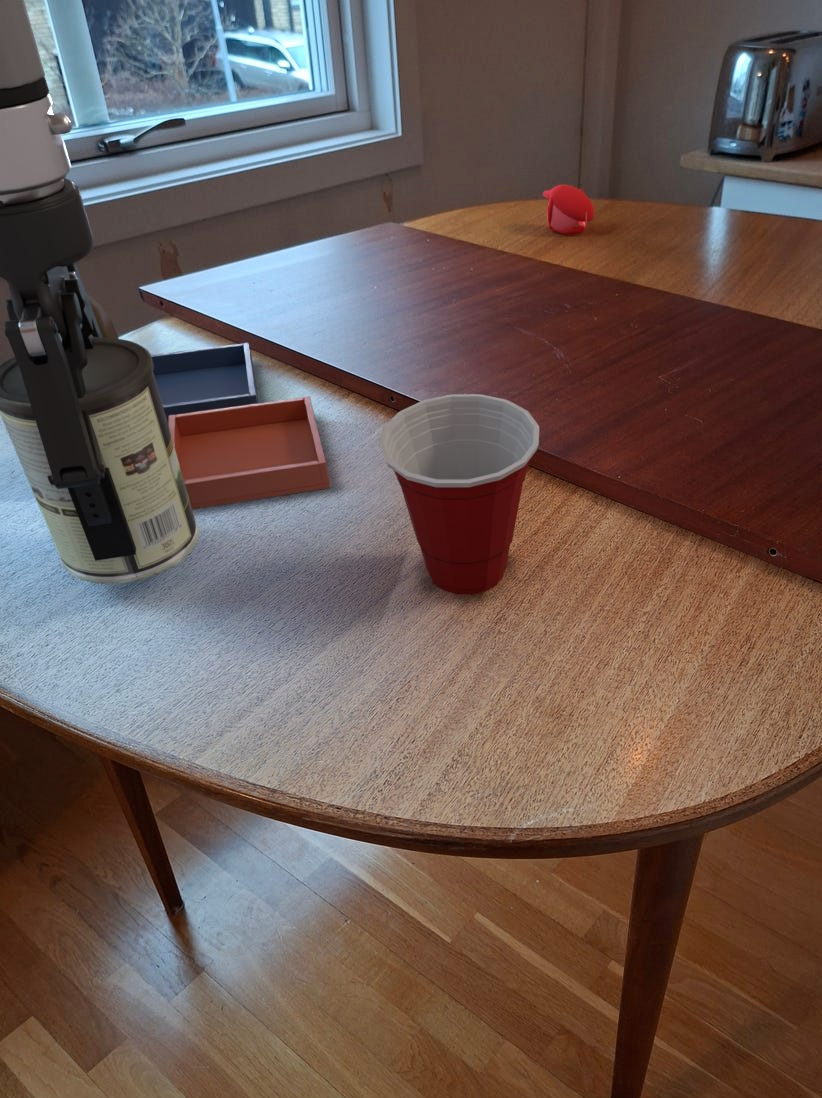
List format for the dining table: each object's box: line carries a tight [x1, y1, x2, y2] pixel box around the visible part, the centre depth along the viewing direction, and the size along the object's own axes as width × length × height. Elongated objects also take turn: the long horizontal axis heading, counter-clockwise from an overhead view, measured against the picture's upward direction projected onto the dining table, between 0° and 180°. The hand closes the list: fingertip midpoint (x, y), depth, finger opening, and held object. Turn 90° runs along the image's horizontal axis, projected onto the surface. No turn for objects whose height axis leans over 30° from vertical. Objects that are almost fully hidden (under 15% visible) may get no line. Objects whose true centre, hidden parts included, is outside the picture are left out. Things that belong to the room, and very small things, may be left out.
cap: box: [542, 184, 595, 235], centre depth 126 cm, size 8×6×6 cm
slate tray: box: [151, 342, 260, 423], centre depth 89 cm, size 13×13×2 cm
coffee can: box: [0, 337, 200, 585], centre depth 62 cm, size 10×10×14 cm
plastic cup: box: [378, 393, 540, 596], centre depth 62 cm, size 11×11×12 cm
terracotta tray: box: [168, 395, 331, 510], centre depth 79 cm, size 13×13×2 cm
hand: (119, 513), depth 65 cm, fingers closed on coffee can, 10 cm apart
